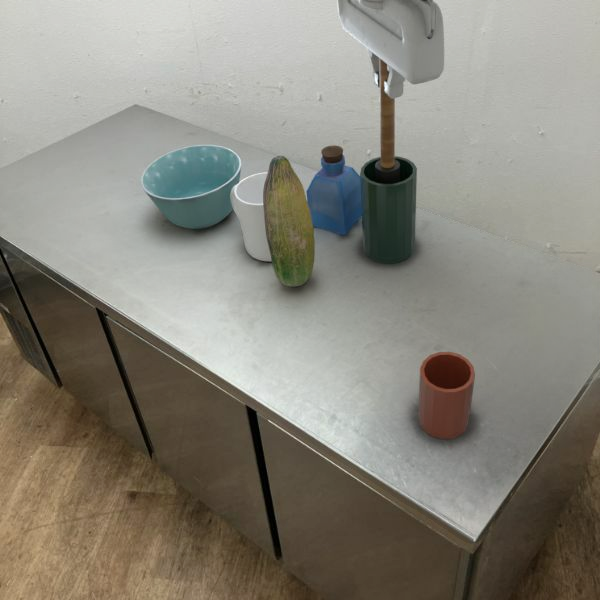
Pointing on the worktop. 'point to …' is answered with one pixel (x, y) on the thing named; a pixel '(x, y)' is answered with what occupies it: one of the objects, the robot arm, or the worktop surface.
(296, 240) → the vegetable
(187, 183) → the bowl
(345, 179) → the perfume bottle
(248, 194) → the mug
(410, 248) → the cup
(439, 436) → the holder
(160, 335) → the worktop surface
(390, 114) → the wooden dowel rod
